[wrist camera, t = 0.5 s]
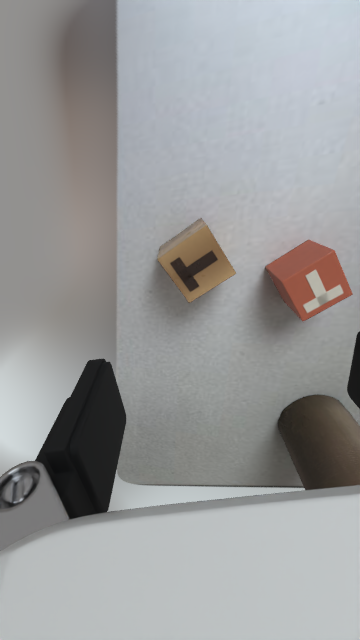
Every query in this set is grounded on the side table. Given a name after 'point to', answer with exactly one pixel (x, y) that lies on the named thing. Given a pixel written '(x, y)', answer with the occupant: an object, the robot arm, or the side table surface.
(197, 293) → the maple block
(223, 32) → the side table surface
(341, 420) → the pillar candle
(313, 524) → the robot arm
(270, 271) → the terracotta block
